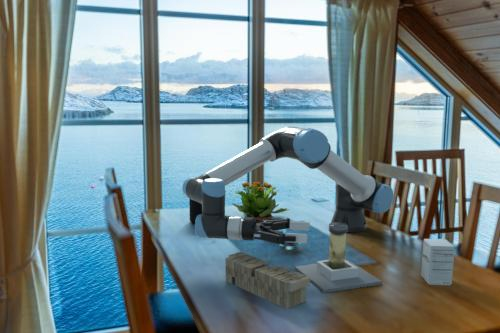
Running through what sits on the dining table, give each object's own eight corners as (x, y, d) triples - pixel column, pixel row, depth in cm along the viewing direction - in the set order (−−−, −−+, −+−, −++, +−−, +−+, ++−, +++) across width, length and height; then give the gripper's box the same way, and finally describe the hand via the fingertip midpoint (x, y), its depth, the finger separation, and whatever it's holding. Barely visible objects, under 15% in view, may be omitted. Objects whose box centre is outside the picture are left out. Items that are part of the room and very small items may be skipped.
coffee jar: (209, 226, 209) (209, 185, 207) (186, 224, 212) (185, 184, 209) (216, 219, 220) (216, 180, 217) (194, 218, 222) (193, 179, 219)
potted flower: (294, 214, 230) (295, 178, 227) (281, 227, 208) (282, 187, 205) (245, 209, 238) (245, 174, 236) (227, 222, 216) (227, 183, 213)
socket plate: (347, 262, 167) (347, 251, 167) (381, 284, 149) (382, 271, 148) (294, 269, 160) (295, 257, 160) (323, 293, 142) (324, 280, 141)
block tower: (222, 282, 151) (290, 312, 130) (221, 256, 150) (290, 281, 129) (241, 276, 157) (310, 303, 135) (241, 251, 156) (310, 274, 134)
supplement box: (420, 276, 156) (423, 238, 154) (443, 276, 156) (446, 238, 153) (427, 285, 148) (430, 245, 146) (452, 285, 148) (455, 246, 146)
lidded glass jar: (339, 269, 158) (341, 221, 155) (349, 275, 153) (351, 226, 150) (323, 271, 156) (325, 223, 154) (332, 277, 151) (334, 228, 148)
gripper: (249, 228, 170) (309, 232, 167) (234, 251, 146) (305, 256, 142) (249, 208, 169) (310, 211, 165) (234, 227, 145) (306, 232, 141)
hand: (308, 232), depth 154 cm, fingers open, 13 cm apart
